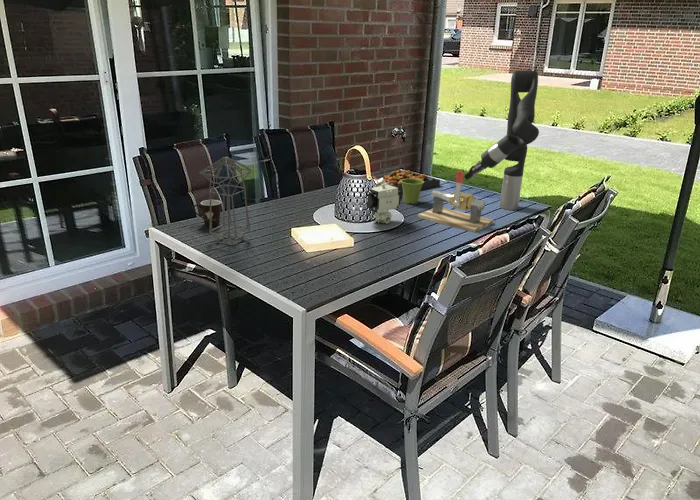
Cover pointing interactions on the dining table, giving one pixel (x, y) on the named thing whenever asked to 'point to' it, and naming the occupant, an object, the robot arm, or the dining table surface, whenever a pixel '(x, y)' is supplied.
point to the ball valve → (384, 201)
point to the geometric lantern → (221, 162)
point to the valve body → (465, 203)
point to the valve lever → (458, 188)
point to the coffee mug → (206, 212)
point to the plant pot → (411, 190)
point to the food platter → (397, 176)
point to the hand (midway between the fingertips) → (465, 177)
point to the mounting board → (455, 219)
